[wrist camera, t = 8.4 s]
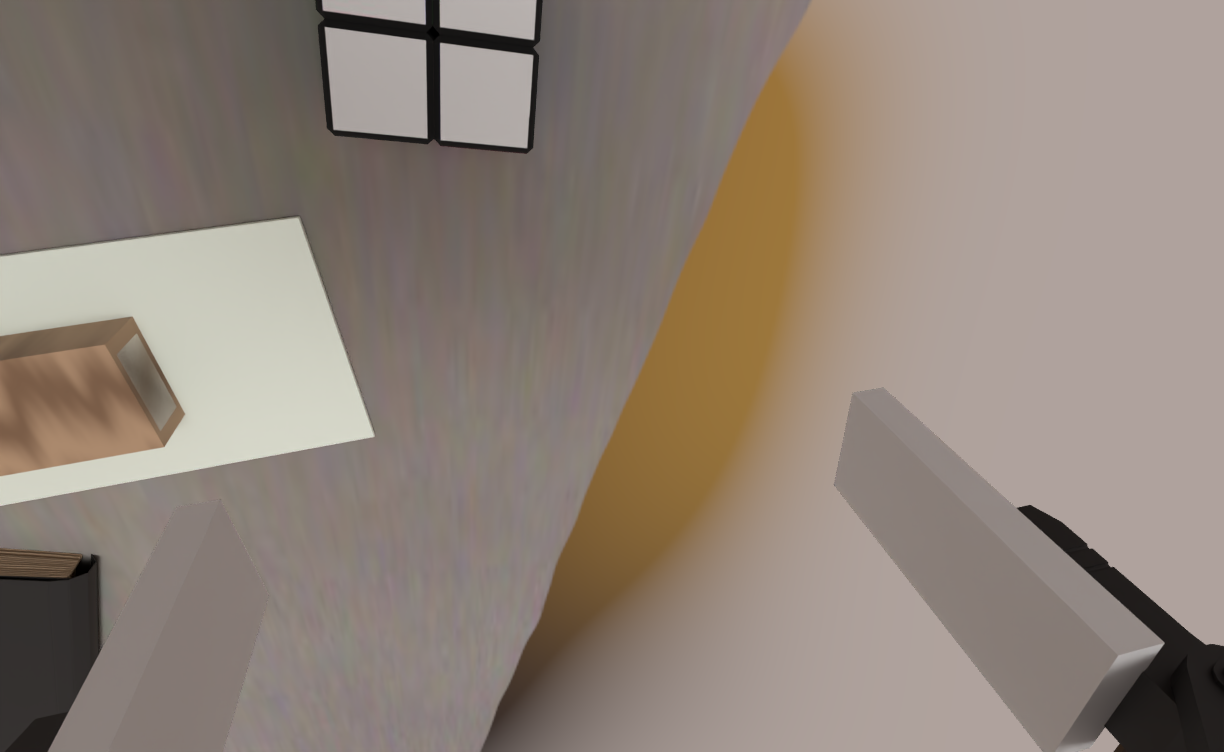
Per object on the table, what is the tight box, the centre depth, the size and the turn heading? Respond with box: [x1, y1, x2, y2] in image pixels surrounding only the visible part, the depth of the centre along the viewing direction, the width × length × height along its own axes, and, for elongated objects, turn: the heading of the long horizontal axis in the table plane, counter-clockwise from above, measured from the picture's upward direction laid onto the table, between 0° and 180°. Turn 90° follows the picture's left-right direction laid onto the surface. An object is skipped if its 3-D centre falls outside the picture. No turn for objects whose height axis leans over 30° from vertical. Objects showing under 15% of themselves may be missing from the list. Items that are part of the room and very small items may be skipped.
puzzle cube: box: [315, 0, 542, 154], centre depth 33 cm, size 10×10×10 cm
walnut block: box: [0, 317, 185, 476], centre depth 41 cm, size 8×4×14 cm
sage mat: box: [0, 216, 375, 506], centre depth 43 cm, size 18×30×1 cm, turn 94°
